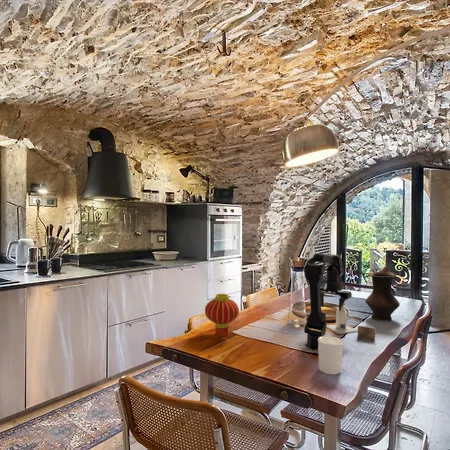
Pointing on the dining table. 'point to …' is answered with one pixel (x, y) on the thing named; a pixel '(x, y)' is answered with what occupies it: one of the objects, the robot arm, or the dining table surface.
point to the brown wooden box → (366, 333)
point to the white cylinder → (330, 354)
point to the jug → (382, 295)
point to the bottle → (341, 318)
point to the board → (348, 330)
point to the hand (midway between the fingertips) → (331, 308)
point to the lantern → (221, 312)
